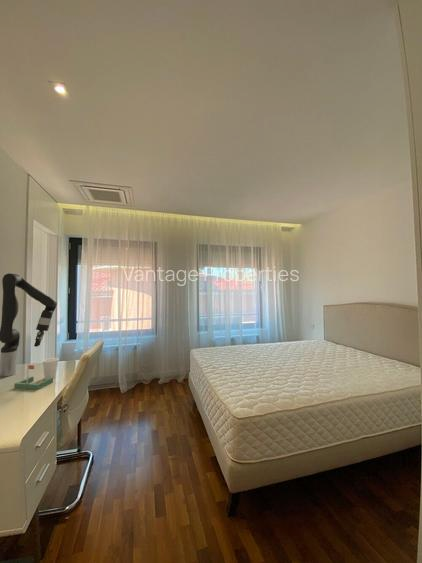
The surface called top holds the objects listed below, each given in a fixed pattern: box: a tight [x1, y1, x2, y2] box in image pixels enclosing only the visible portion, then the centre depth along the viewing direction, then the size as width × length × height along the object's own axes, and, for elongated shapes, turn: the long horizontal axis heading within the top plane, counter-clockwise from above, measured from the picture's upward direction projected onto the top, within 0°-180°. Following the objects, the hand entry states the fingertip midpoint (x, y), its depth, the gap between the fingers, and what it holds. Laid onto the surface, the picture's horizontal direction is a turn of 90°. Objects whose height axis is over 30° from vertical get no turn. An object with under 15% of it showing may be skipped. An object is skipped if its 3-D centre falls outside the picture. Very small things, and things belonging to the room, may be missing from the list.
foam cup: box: [42, 357, 60, 380], centre depth 166 cm, size 10×9×13 cm
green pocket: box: [13, 364, 54, 391], centre depth 153 cm, size 16×13×15 cm
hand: (36, 346), depth 169 cm, fingers open, 8 cm apart
